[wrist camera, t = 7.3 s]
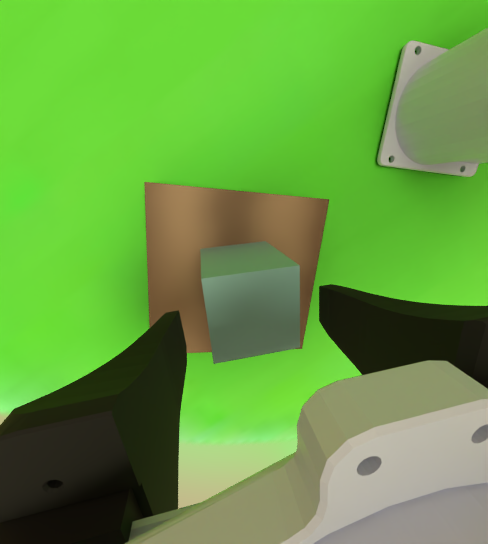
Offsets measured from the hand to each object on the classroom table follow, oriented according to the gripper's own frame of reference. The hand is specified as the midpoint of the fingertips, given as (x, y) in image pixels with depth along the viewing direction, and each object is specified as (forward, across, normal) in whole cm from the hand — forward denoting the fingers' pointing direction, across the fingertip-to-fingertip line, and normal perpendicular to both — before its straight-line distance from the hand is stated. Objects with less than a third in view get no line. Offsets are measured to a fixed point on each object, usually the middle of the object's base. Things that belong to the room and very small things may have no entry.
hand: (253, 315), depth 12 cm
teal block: (+6, 0, 0) cm, 6 cm away
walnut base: (+8, 0, 0) cm, 9 cm away
